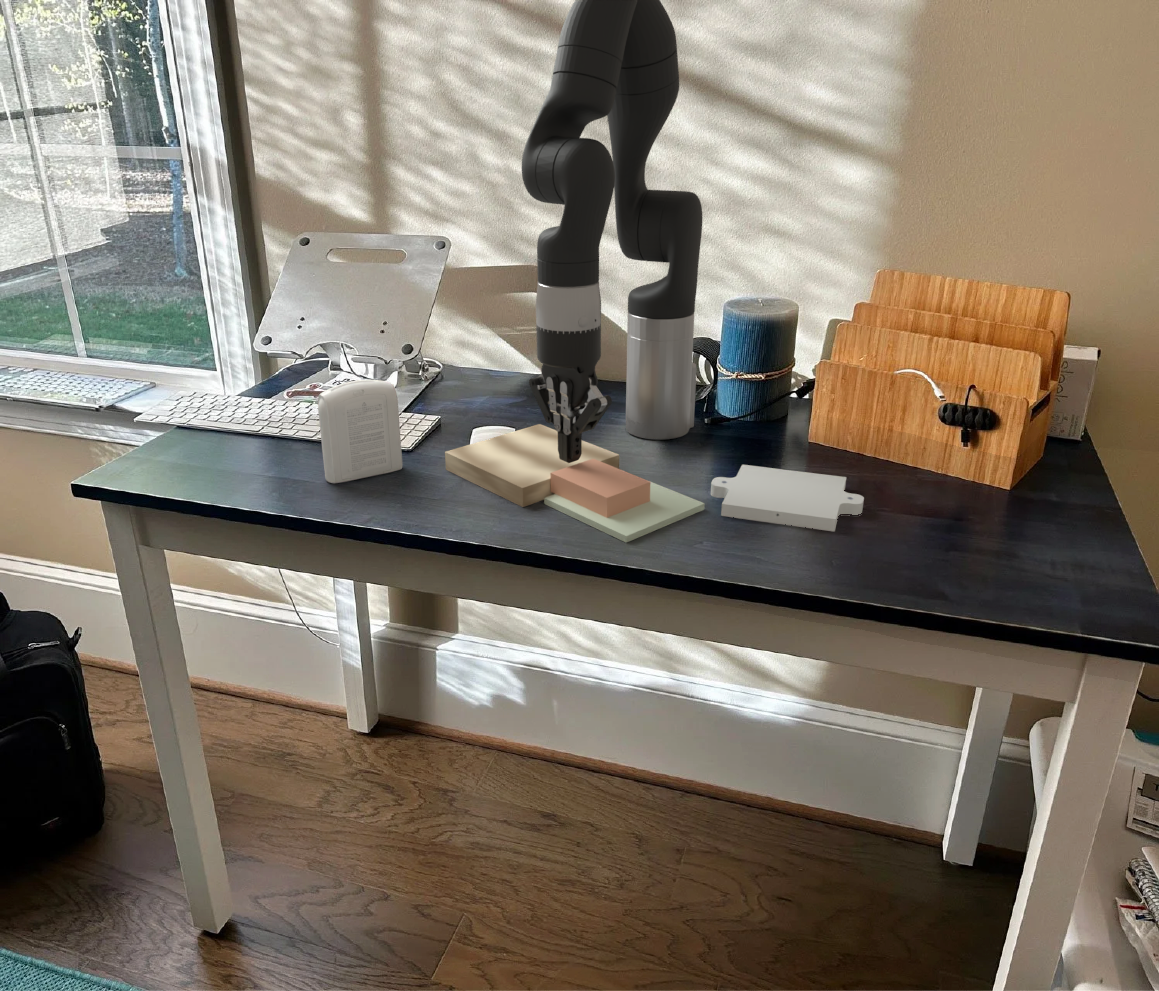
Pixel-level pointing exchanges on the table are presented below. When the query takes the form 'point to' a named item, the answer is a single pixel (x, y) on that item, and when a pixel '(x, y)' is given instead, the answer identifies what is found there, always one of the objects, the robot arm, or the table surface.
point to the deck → (519, 463)
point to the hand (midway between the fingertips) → (569, 459)
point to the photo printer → (359, 430)
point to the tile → (600, 487)
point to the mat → (633, 513)
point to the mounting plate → (786, 497)
